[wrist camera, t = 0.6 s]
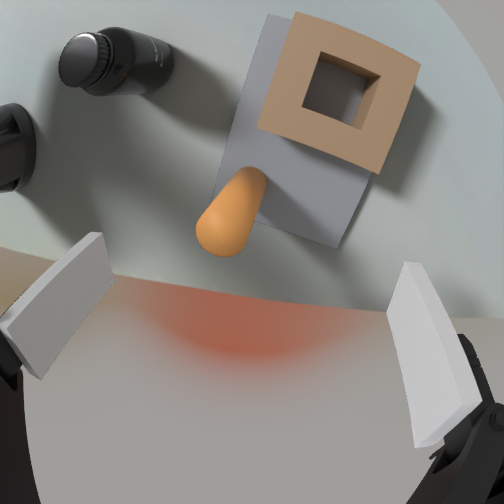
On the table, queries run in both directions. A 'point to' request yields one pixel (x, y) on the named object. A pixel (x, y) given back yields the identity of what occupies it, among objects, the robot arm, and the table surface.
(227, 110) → the table surface
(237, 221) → the peg
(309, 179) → the socket board
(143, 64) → the supplement bottle
